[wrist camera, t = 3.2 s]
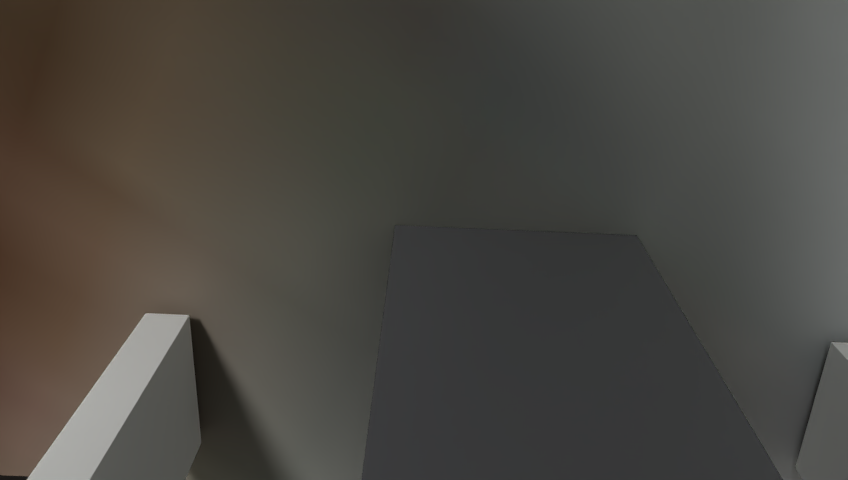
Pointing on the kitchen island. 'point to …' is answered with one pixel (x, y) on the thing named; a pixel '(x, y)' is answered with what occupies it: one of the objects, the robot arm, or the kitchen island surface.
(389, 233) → the kitchen island surface
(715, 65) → the kitchen island surface
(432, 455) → the plug
